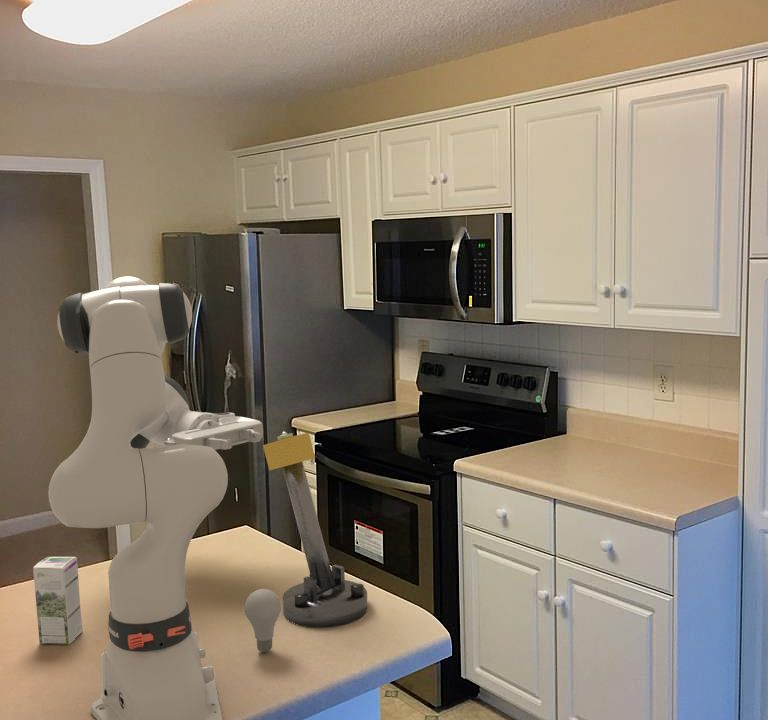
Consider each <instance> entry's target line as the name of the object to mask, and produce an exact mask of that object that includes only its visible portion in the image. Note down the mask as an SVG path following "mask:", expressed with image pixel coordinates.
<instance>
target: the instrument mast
mask: <svg viewBox="0 0 768 720" xmlns="http://www.w3.org/2000/svg"><path fill="white" fill-rule="evenodd" d="M276 438H277V440H276V441H273V442H269V443H266V444H262V447H263V451H264V455H265V459H266V463H267V467H268V470H269V471H273V470H276V469H280V468H282V472H283V475H284V479H285V483H286V487H287V490H288V494H289V495H288V496H289V498H290V502H291V505H292V510H293V513H294V516H295V517H294V518H295V522H296V524H297V529H298V534H299V536H300V540H301V543H302V546H303V551H304V556H305V560H306V563H307V566H308V570H309V576H310V575H311V578H315V579H317V595H319V594H321V593H323V592H326V591H328V590H330V589H332V588H334V587H337V586H338V584H339V582H338V580H337V579H336V578H334V579H333V575H332V566H331V565H330V561H329V557H328V553H327V549H326V545H325V541H324V538H323V534H322V530H321V527H320V523H319V518H318V515H317V511H316V508H315V503H314V500H313V497H312V493H311V488H310V485H309V482H308V477H307V474H306V471H305V466H304V462H306V461H309V460H312V459H316V455H315V451H314V448H313V444H312V440H311V436H310V433H309V432H305V433H302V434H296V435H293V433H292V432H291V433H288V432H287V431H283V432H281V435H279V436H276Z"/></svg>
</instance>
